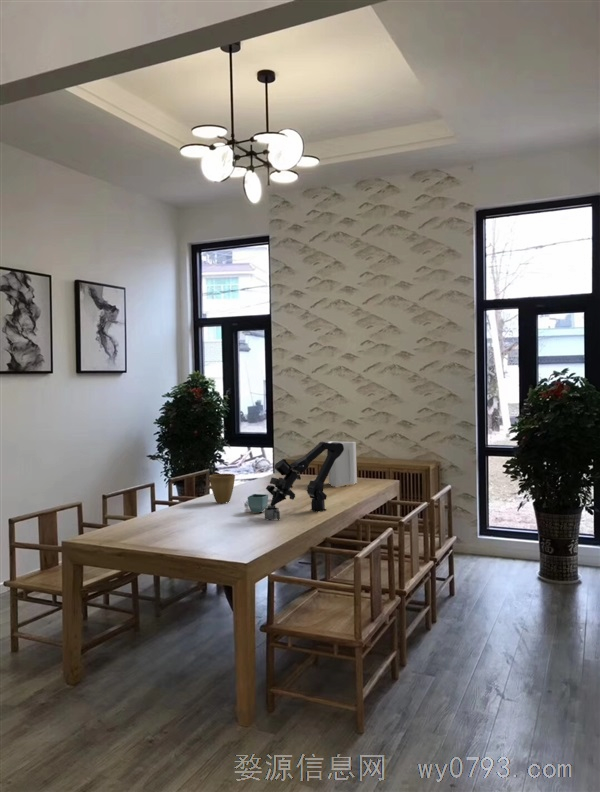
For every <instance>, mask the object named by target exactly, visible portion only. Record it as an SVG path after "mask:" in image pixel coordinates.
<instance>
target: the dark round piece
mask: <svg viewBox="0 0 600 792" xmlns="http://www.w3.org/2000/svg"><path fill="white" fill-rule="evenodd" d="M267 508H268V509H271V510H272V509H274V508H277V507H276V504H275V505H274V506H271V504H270V505H267Z"/></svg>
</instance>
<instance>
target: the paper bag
mask: <svg viewBox="0 0 600 792" xmlns="http://www.w3.org/2000/svg"><path fill="white" fill-rule="evenodd" d="M326 442H327V443H332V442H336V443H341V444H343V447H344V451H343V452H342V454H341V455H340V456H339V457H338V458H337V459H336V460H335V461H334V464H333V466H332V468H331V470H330V472H329V474H328V476H327V478H328V484H329V483H330V484H331V485H332V486H339V485H347V484H355V483H357V484H358V479H357V478H358V476H357V475H358V474H357V473H358V472H357V471H358V470H357V469H358V468H357V444H356V443H357V442H356V441H337V440H336V441H335V440H334V441H332V440H331V441H326Z"/></svg>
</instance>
